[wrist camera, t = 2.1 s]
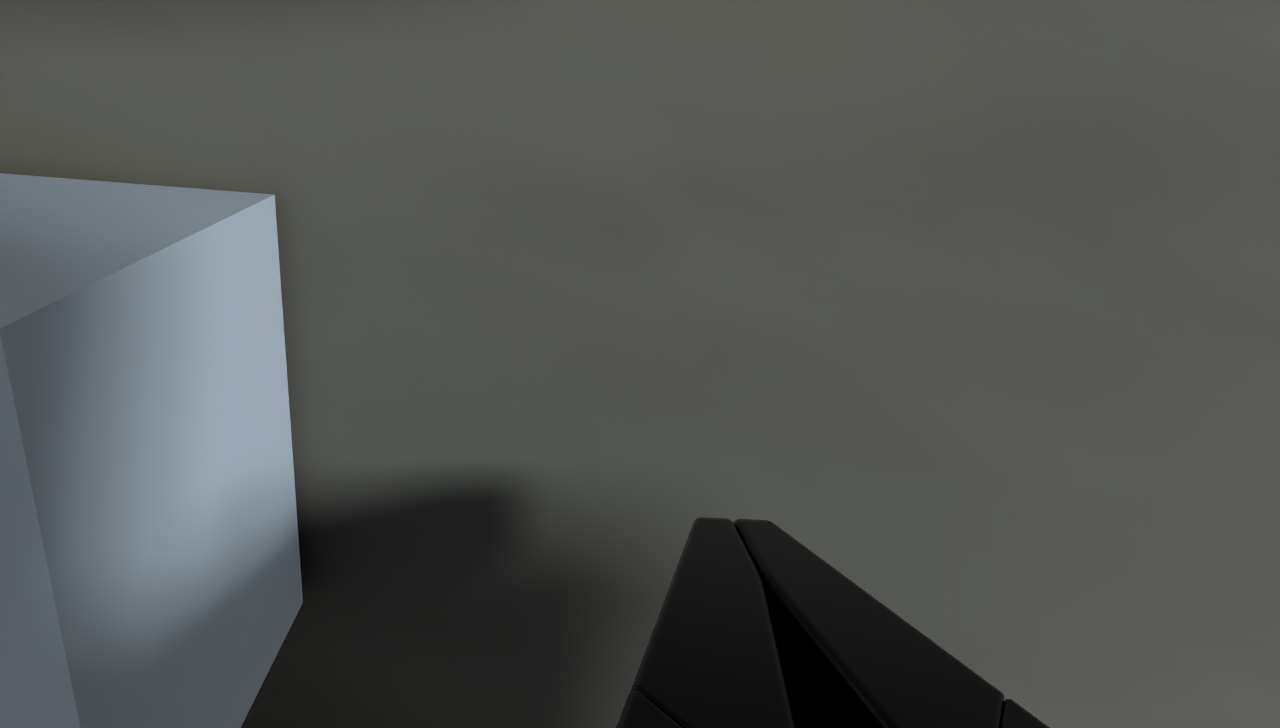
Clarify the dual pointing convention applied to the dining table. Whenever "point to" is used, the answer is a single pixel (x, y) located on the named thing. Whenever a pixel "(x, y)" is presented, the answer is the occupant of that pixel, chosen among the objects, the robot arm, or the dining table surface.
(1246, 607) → the dining table surface
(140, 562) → the pale blue mallet
